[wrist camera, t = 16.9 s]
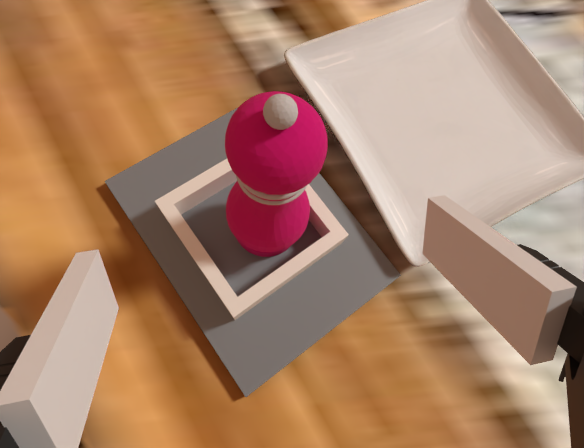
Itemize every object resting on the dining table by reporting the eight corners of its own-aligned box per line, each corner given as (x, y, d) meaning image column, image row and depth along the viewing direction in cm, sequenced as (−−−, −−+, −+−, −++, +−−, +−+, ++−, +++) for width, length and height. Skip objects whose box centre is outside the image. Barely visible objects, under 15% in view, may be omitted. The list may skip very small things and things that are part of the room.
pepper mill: (212, 227, 37) (174, 100, 19) (263, 177, 40) (276, 18, 21) (268, 278, 36) (287, 199, 18) (317, 224, 39) (383, 102, 20)
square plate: (593, 173, 45) (623, 157, 42) (400, 278, 39) (415, 270, 36) (462, 4, 52) (478, -23, 48) (278, 71, 46) (280, 46, 42)
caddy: (257, 102, 43) (258, 78, 40) (397, 277, 39) (413, 268, 35) (108, 185, 39) (92, 167, 35) (245, 396, 34) (245, 401, 30)
